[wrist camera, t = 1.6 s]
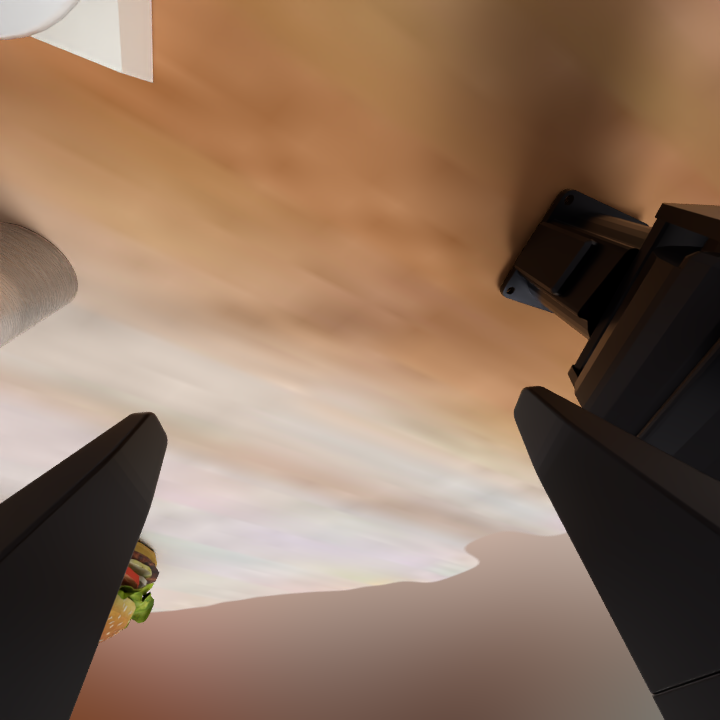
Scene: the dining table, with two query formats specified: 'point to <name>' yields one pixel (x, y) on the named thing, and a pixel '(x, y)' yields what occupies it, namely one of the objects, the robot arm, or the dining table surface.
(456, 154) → the dining table surface
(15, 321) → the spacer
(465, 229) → the dining table surface
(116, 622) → the food
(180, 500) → the dining table surface
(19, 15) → the scale
